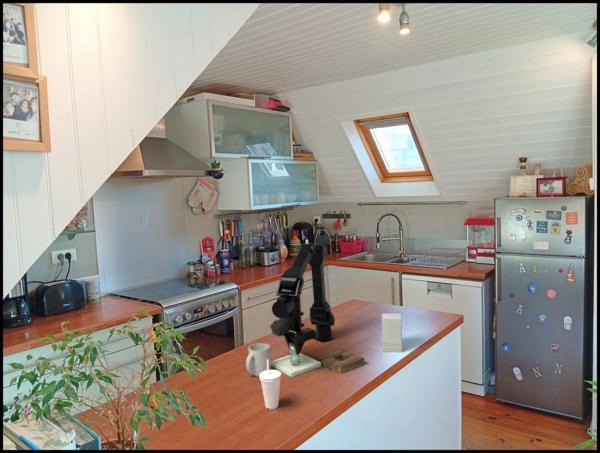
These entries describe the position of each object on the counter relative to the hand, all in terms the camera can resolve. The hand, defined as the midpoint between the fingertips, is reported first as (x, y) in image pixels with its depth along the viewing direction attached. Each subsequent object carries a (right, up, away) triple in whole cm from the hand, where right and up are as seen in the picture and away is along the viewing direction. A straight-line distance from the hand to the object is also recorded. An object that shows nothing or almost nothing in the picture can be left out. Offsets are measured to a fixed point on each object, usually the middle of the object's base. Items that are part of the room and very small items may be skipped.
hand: (294, 353), depth 161 cm
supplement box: (+37, -2, +13) cm, 39 cm away
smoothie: (-6, -8, -27) cm, 29 cm away
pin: (0, -3, 0) cm, 3 cm away
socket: (+17, -4, 0) cm, 17 cm away
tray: (0, -5, 0) cm, 5 cm away
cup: (-13, -6, -4) cm, 15 cm away
